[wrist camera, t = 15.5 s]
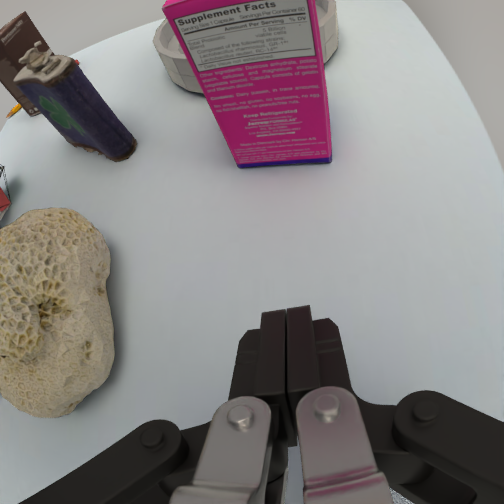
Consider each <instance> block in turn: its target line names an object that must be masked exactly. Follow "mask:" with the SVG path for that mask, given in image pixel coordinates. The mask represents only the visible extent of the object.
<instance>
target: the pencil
mask: <svg viewBox="0 0 504 504" xmlns="http://www.w3.org/2000/svg"><path fill="white" fill-rule="evenodd" d="M75 62H76V63H77V64H78V65H79V62H78V60H75ZM21 107H22V106H21V105H20V104H17V105H16V106H15V107H14V108H13V109H12V110H11V111H10V113H9V114H8V115H7V117H9V116H11V115H13V114H14V113H16V112H17V111H18V110H19V109H20V108H21ZM7 117H6V118H7Z"/></svg>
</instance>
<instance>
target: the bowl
mask: <svg viewBox="0 0 504 504" xmlns="http://www.w3.org/2000/svg"><path fill="white" fill-rule="evenodd" d="M315 5H316V11H317V18H318V24H319V31H320V39H321V47H322V55H323V63H326V62H327V61H328V60H329V58H330V57H331V56H332V54H333V53H334V52H335V50H336V49H337V47H338V21H337V9H336V1H335V0H315ZM153 44H154V46H155V48H156V50H157V52H158V54H159V56H160V58H161V60H162V62H163V64H164V66H165V67H166V69H167V71H168V73H169V75H170V77H171V79H172V81H173V82H174V83H176V84H178V85H179V86H181V87H183V88H185V89H186V90H188V91H192V92H198V93H203V91H202V89H201V87H200V85H199V83H198V81H197V79H196V77H195V75H194V73H193V71H192V68H191V66H190V64H189V62H188V60H187V58H186V56H185V54H184V52H183V50H182V48H181V46H180V44H179V42H178V40H177V38H176V36H175V34H174V32H173V30H172V28H171V26H170V24H169V22H168V20H167V18H166V19H165V20H164V21H163V22H162V24H161V25H160V26H159V27H158V28H157V30H156V33H155V36H154V39H153Z"/></svg>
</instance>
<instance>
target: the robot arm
mask: <svg viewBox="0 0 504 504" xmlns="http://www.w3.org/2000/svg"><path fill="white" fill-rule="evenodd" d="M235 364H236V365H235V366H234V372H233V377H232V382H231V388H230V393H229V398H228V401H227V402H225V403H224V404H222V405H221V406H220V407H219V408H218V409H217V410H216V412H215V413H214V415H213V418H212V421H210V422H208V423H206V424H203V425H199V426H196V427H192V428H188V429H184V430H181V431H180V430H179V428H178V427H177V426H176V425H175V424H174V423H172V422H170V421H167V420H152V421H149V422H146V423H144V424H142V425H141V426H139V427H138V428H136V429H135V430H133V431H132V432H130V433H129V434H128V435H126V436H125V437H123V438H122V439H120V440H119V441H118V442H116V443H115V444H113V445H112V446H110V447H109V448H107V449H106V450H104V451H103V452H101V453H100V454H98V455H97V456H95V457H94V458H92V459H91V460H89V461H88V462H86V463H85V464H83V465H81V466H80V467H78V468H77V469H75V470H74V471H72V472H70V473H69V474H67V475H66V476H64V477H62V478H61V479H59V480H58V481H56V482H54V483H53V484H51V485H49V486H48V487H46V488H44V489H43V490H41V491H39V492H38V493H36V494H34V495H33V496H31V497H29V498H27V499H26V500H24V501H22V502H20V503H19V504H284V503H285V495H286V487H287V478H288V447H294V446H297V435H298V440H299V445H300V453H301V462H302V471H303V481H304V488H303V500H304V504H394V502H393V499H392V495H391V492H390V488H392V489H393V490H395V491H396V492H398V493H399V494H401V495H402V496H404V497H405V498H407V499H408V500H410V501H411V502H413V503H415V504H504V422H502V421H499V420H497V419H495V418H493V417H491V416H488V415H486V414H484V413H482V412H480V411H477V410H475V409H473V408H471V407H469V406H467V405H464V404H462V403H460V402H458V401H456V400H454V399H452V398H450V397H447V396H445V395H443V394H441V393H438V392H435V391H428V390H425V391H417V392H414V393H411V394H409V395H407V396H406V397H404V398H403V399H402V400H401V401H400V402H399V403H398V404H397V406H394V405H377V404H372V403H368V402H366V401H364V400H362V399H360V398H359V397H358V396H357V395H356V394H355V393H354V391H353V389H352V387H351V382H350V378H349V373H348V368H347V364H346V359H345V355H344V350H343V346H342V342H341V337H340V333H339V329H338V326H337V325H336V324H335V323H334V322H333V321H332V320H331V319H329V318H325V319H319V320H313V321H312V316H311V310H310V305H307V306H301V307H294V308H288V309H287V313H286V310H285V309H282V310H276V311H269V312H262V316H261V325H260V329H253V330H247V332H246V333H245V334H244V336H243V337H242V338H241V340H240V341H239V345H238V350H237V356H236V361H235ZM389 487H390V488H389Z"/></svg>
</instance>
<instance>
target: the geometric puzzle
mask: <svg viewBox="0 0 504 504" xmlns="http://www.w3.org/2000/svg"><path fill="white" fill-rule="evenodd" d="M0 165H1V164H0ZM4 167H5V166H3V167H0V169H2V170H1V171H2V172H3V169H4ZM4 171H5V169H4ZM2 172H0V174H2ZM3 175H4V173H3ZM0 177H1V175H0ZM5 177H6V175H5ZM4 179H5V178H4ZM6 182H7V181H6ZM6 182H5V183H6ZM6 187H7V188H8V186H6ZM7 191H8V190H7ZM8 193H9V191H8ZM8 195H9V194H8ZM9 199H10V196H9ZM10 202H11V201H9V200H8V198H7V197H6V195H5V194H4V192H3V190H2V189H1V187H0V221H1V219H2V218H3V215H4V214H5V212H6V211H7V209H8V208H9V206H10V204H12V203H10ZM3 210H4V211H3Z"/></svg>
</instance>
